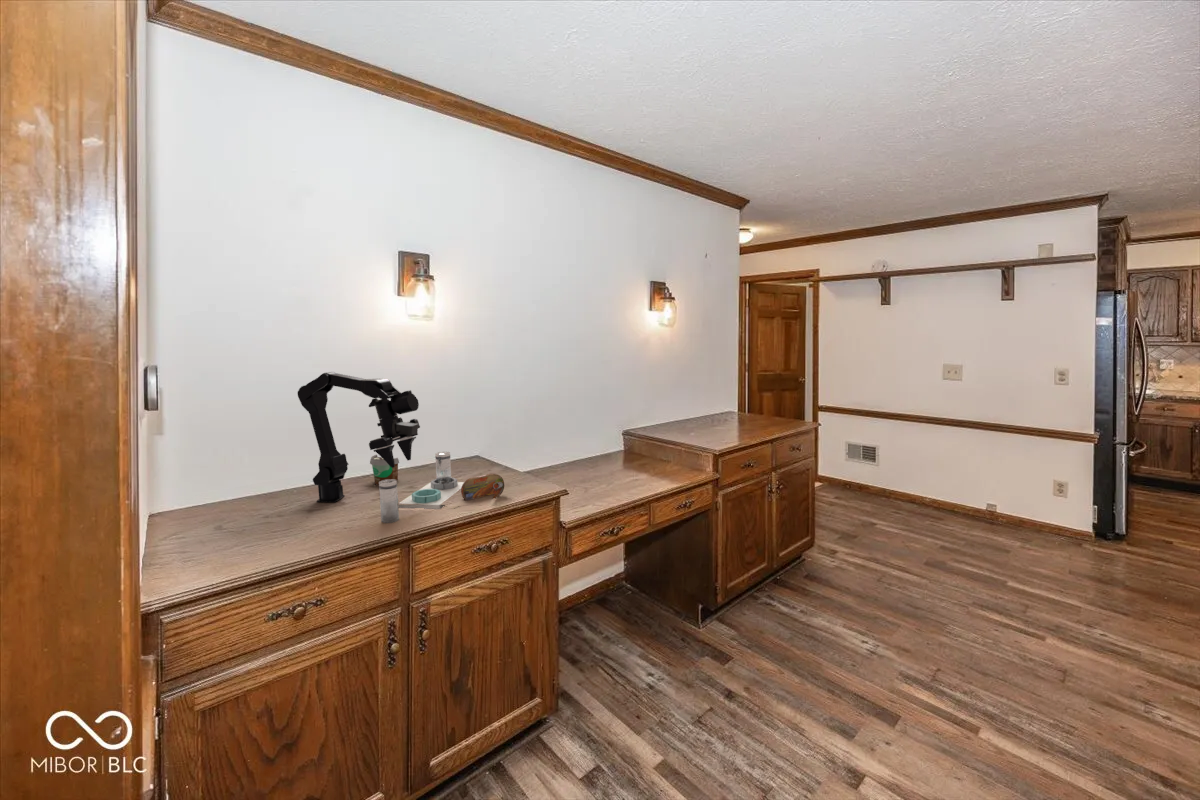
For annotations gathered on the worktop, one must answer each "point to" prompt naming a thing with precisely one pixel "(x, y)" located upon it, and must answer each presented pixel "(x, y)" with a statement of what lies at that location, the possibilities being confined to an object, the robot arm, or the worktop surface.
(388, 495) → the cylinder
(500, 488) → the tin
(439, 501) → the pallet
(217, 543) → the worktop surface
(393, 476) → the food container
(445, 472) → the clear lidded jar
